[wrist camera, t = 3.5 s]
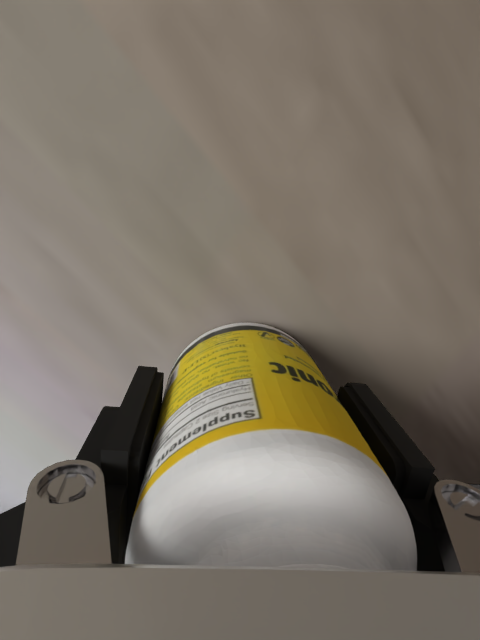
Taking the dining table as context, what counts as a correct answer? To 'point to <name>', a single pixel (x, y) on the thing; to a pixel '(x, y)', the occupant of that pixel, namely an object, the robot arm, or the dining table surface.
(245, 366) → the supplement bottle
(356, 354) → the dining table surface
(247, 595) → the robot arm
